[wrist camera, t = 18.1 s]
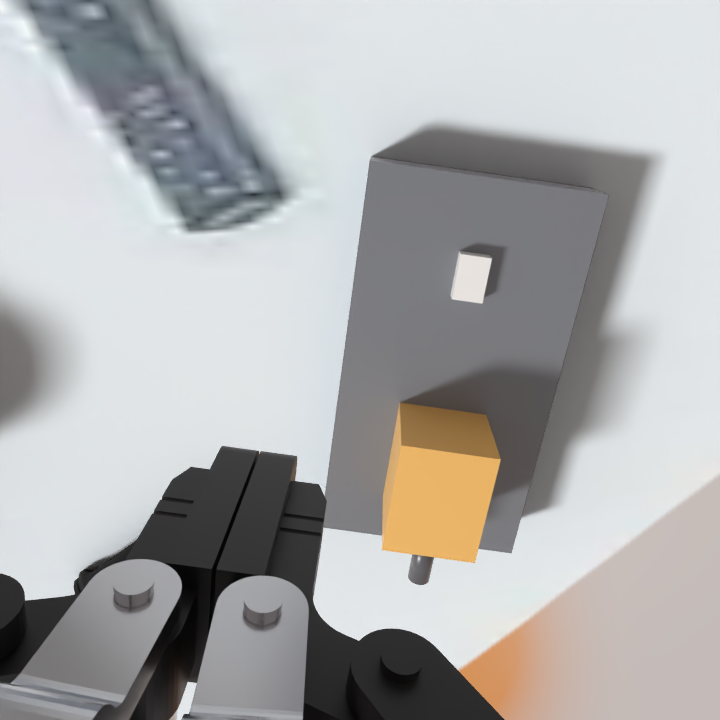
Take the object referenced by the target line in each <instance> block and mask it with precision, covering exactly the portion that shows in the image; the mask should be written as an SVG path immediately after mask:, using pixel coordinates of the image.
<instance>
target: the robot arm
mask: <svg viewBox="0 0 720 720" xmlns="http://www.w3.org/2000/svg"><path fill="white" fill-rule="evenodd" d="M296 467H297V456H292V455H285V454H277V453H270V452H263V451H261V452H260V454H259V451H255V450H248V449H240V448H233V447H226V446H222V447H221V448H220V450H219V452H218V454H217V456H216V458H215V460H214V462H213V464H212V466H211V468H210V470H209V469H202V468H195V467H190V468H189V469H187V470H186V471H184V472H183V473H182V474H180V475H179V476H177V477H176V478H174V479H173V480H172V481H171V483H170V484H169V486H168V488H167V489H166V491H165V493H164V495H163V496H162V500H160V501H159V503H158V505H157V507H156V508H155V510H154V514H152V515H151V517H150V518H149V520H148V522H147V524H146V525H145V527H144V529H143V530H142V532H141V534H140V536H139V537H138V539H137V541H136V542H135V544H134V546H133V547H132V549H131V551H130V553H129V554H128V556H127V558H126V559H125V561H122V562H119V563H116V564H113V565H111V566H109V567H107V568H105V569H103V570H102V571H100V572H99V573H98V574H96V575H95V576H94V577H93V578H92V579H91V580H90V581H89V583H88V584H87V585H86V587H85V588H84V589H83V591H82V592H81V593H79V594H75V595H71V596H65V597H57V598H47V599H38V600H28V601H25V595H24V590H23V588H22V586H21V584H20V583H19V582H18V581H17V580H15V579H14V578H12V577H10V576H7V575H4V574H0V720H177V709H178V707H179V704H180V702H181V699H182V696H183V693H184V691H185V688H186V685H187V682H195V683H197V685H196V689H195V693H194V697H193V701H192V705H191V709H190V712H189V714H184V715H183V717H182V720H504V719H503V718H502V717H501V716H500V715H499V713H498V712H497V711H496V710H495V709H494V708H493V707H492V706H491V705H490V704H489V703H488V702H487V701H486V700H485V699H484V698H483V697H482V696H481V695H480V693H479V692H478V691H477V690H476V689H475V688H474V687H473V686H472V685H471V684H470V683H469V682H468V681H467V680H466V679H465V678H464V677H463V675H462V674H461V673H460V672H459V671H458V670H457V669H456V668H455V667H454V666H453V665H452V664H451V663H450V662H449V661H448V660H447V659H446V658H445V656H444V655H443V654H442V653H441V652H440V651H439V650H438V649H437V648H436V647H435V646H434V645H433V644H432V643H430V642H429V641H428V640H426V639H425V638H423V637H421V636H419V635H417V634H415V633H412V632H410V631H406V630H401V629H382V630H377V631H374V632H372V633H369V634H368V635H366V636H364V637H363V638H362V639H361V640H360V641H358V640H355V639H353V638H351V637H348V636H346V635H344V634H342V633H340V632H338V631H336V630H335V629H333V628H332V627H330V626H329V625H328V624H327V623H326V622H325V621H324V620H323V619H322V618H321V617H320V616H319V614H318V612H317V611H316V609H315V606H314V603H313V595H314V589H315V582H316V576H317V570H318V563H319V556H320V548H321V541H322V534H323V526H324V519H325V511H326V504H327V500H326V498H325V496H324V494H323V492H322V490H321V488H320V486H319V484H312V483H305V482H297V481H295V476H296Z"/></svg>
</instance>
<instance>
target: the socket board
mask: <svg viewBox="0 0 720 720" xmlns="http://www.w3.org/2000/svg"><path fill="white" fill-rule="evenodd" d="M608 197H609V195H608V194H606V193H603V192H600V191H598V190H595V189H592V188H587V187H580V186H573V185H566V184H559V183H552V182H545V181H539V180H532V179H525V178H518V177H511V176H504V175H497V174H490V173H483V172H476V171H469V170H462V169H455V168H448V167H441V166H434V165H427V164H420V163H413V162H406V161H399V160H392V159H385V158H378V157H371V159H370V163H369V170H368V178H367V185H366V193H365V200H364V208H363V215H362V223H361V230H360V238H359V245H358V253H357V260H356V268H355V275H354V283H353V290H352V297H351V305H350V312H349V320H348V327H347V335H346V342H345V350H344V357H343V365H342V372H341V380H340V387H339V395H338V402H337V409H336V417H335V424H334V432H333V439H332V447H331V454H330V462H329V469H328V477H327V484H326V492H325V498H326V500H327V504H326V511H325V519H324V526H323V527H324V528H332V529H339V530H346V531H354V532H361V533H368V534H375V535H382V517H383V493H384V487H385V482H386V476H387V470H388V465H389V459H390V454H391V448H392V442H393V437H394V431H395V426H396V420H397V414H398V409H399V403H407V404H414V405H421V406H428V407H435V408H442V409H449V410H456V411H463V412H470V413H477V414H484V415H487V418H488V422H489V425H490V428H491V431H492V434H493V437H494V440H495V443H496V446H497V449H498V452H499V455H500V459H501V461H500V465H499V469H498V473H497V477H496V481H495V485H494V489H493V492H492V496H491V500H490V504H489V508H488V512H487V516H486V520H485V524H484V528H483V532H482V536H481V540H480V544H479V548H478V549H485V550H492V551H499V552H506V553H512V549H513V545H514V542H515V538H516V534H517V531H518V527H519V523H520V520H521V516H522V512H523V509H524V505H525V501H526V498H527V494H528V490H529V487H530V483H531V479H532V476H533V472H534V468H535V465H536V461H537V457H538V454H539V450H540V446H541V443H542V439H543V435H544V432H545V428H546V424H547V421H548V417H549V413H550V410H551V406H552V402H553V399H554V395H555V391H556V388H557V384H558V380H559V377H560V373H561V369H562V366H563V362H564V358H565V355H566V351H567V347H568V343H569V340H570V336H571V332H572V329H573V325H574V321H575V318H576V314H577V310H578V307H579V303H580V299H581V296H582V292H583V288H584V285H585V281H586V277H587V274H588V270H589V266H590V263H591V259H592V255H593V252H594V248H595V244H596V241H597V237H598V233H599V230H600V226H601V222H602V219H603V215H604V211H605V208H606V204H607V200H608Z"/></svg>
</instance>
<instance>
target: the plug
mask: <svg viewBox="0 0 720 720" xmlns="http://www.w3.org/2000/svg"><path fill="white" fill-rule="evenodd" d="M500 461H501V459H500V455H499V452H498V449H497V446H496V443H495V440H494V437H493V434H492V431H491V428H490V425H489V422H488V418H487V415H484V414H477V413H470V412H463V411H456V410H449V409H442V408H435V407H428V406H421V405H414V404H407V403H399V409H398V414H397V420H396V426H395V431H394V437H393V442H392V448H391V454H390V459H389V465H388V470H387V476H386V482H385V487H384V493H383V517H382V550H386V551H393V552H400V553H407V554H412V559H411V564H410V569H409V574H408V578H409V580H410V581H411V582H413V583H415V584H418V585H424V584H426V583H428V581H429V577H430V573H431V568H432V564H433V559H434V557H436V558H443V559H450V560H457V561H464V562H471V563H475V560H476V556H477V552H478V548H479V544H480V540H481V536H482V532H483V528H484V524H485V520H486V516H487V512H488V508H489V504H490V500H491V496H492V492H493V489H494V485H495V481H496V477H497V473H498V469H499V465H500Z"/></svg>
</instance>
